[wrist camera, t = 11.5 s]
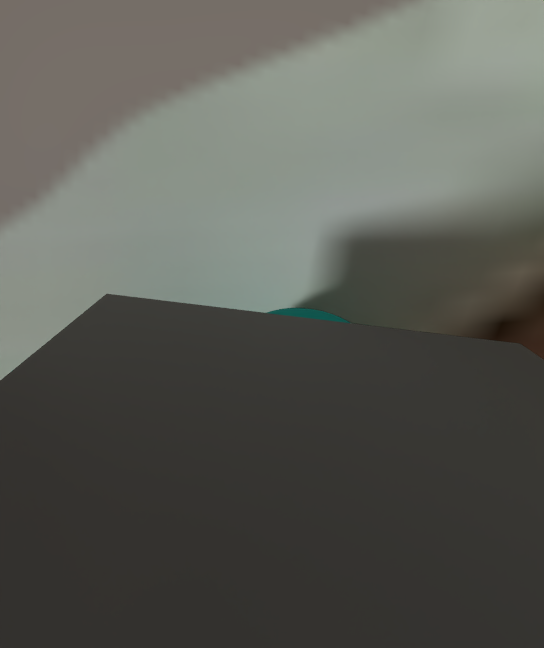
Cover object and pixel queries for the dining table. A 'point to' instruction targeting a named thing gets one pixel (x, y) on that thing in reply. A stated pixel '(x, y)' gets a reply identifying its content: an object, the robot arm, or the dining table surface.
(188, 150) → the dining table surface
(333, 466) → the dark grey block
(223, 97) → the dining table surface
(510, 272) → the dining table surface
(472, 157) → the dining table surface
